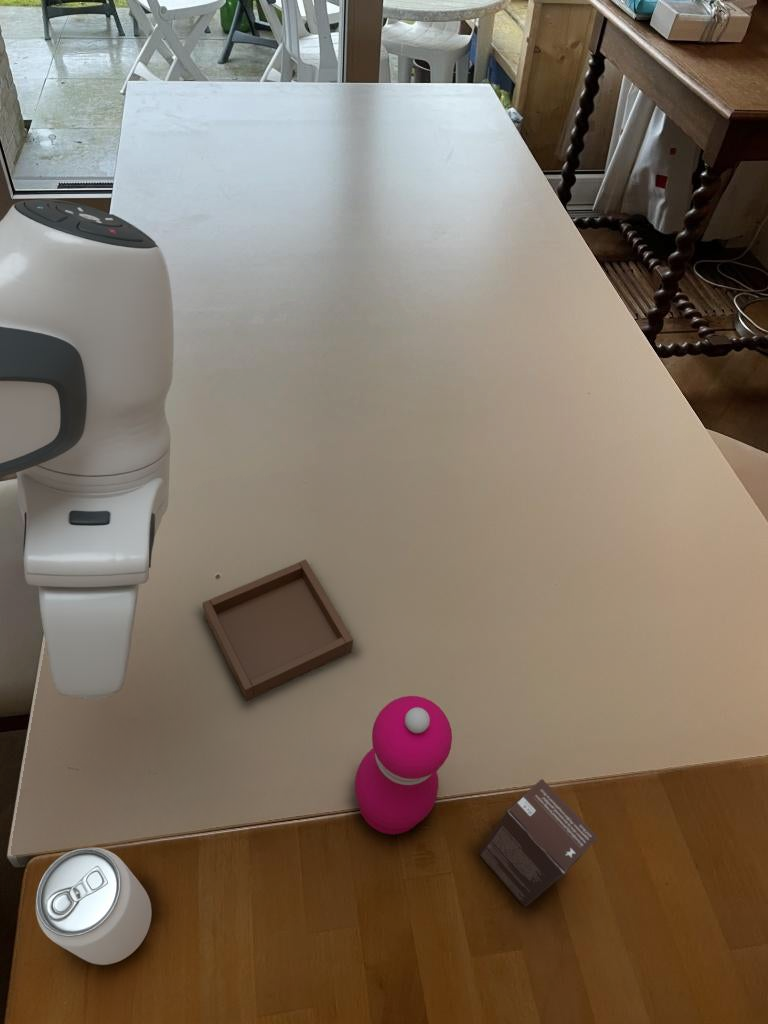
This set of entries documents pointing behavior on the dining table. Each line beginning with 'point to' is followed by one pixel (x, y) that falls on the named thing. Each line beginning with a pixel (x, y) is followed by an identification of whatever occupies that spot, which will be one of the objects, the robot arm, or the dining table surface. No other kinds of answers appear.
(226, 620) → the tray
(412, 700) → the pepper mill
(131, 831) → the dining table surface
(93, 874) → the can
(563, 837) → the box
